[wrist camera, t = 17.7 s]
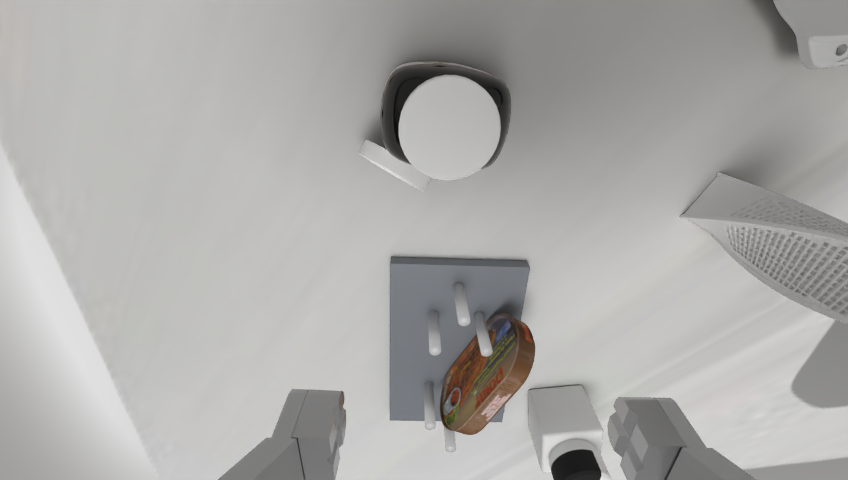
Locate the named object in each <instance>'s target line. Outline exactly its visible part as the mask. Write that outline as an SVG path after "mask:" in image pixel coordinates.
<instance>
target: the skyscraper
mask: <svg viewBox="0 0 848 480" xmlns="http://www.w3.org/2000/svg"><path fill="white" fill-rule="evenodd" d="M680 218H683V219H687V220H689V221H691V222H692V223H694V224H696V225H698V226H699V227H701V228H703V229H705V230H706V231H708V232H709V233H711V234H712V235H714V236H713V238H714V239H715V240H716V241H717V242H718V243H719V244H720V245H721V246H722V247H723V248H724V249H725V250H726V251H727V252H728V254H729V255H730V256H731V257H732V258H734V259H735V260H736V261H737V262H738V263H739V264H740V265H741V266H742V267H743V268H745V269H746V270H747V271H748V272H749V273H751V274H752V275H753V276H755V277H756V278H757V279H759V280H760V281H761V282H763V283H764V284H766V285H767V286H769V287H771V288H772V289H774V290H775V291H777V292H779V293H780V294H782V295H784V296H786V297H787V298H789V299H791V300H793V301H795V302H797V303H799V304H801V305H803V306H805V307H807V308H809V309H812V310H814V311H816V312H819V313H821V314H823V315H826V316H828V317H830V318H833V319H836V320H838V321H841V322H844V323H846V324H848V223H845V222H843V221H841V220H839V219H837V218H835V217H832V216H830V215H828V214H826V213H823V212H821V211H819V210H817V209H814V208H812V207H809V206H807V205H805V204H802V203H800V202H797V201H795V200H792V199H790V198H787V197H785V196H782V195H780V194H777V193H774V192H772V191H769V190H766V189H764V188H761V187H759V186H756V185H753V184H750V183H748V182H745V181H742V180H739V179H736V178H734V177H731V176H728V175H725V174H723V173H720V172H718V174H717V177H716V178H715V179H714V180H713V182H712V183H711V184H710V185H709V186H708V187H707V188H706V189H705V191H704V192H703V193H702V194H701V195H700V196H699V197H698V199H697V200H696V201H695V202H694V203H693V204H692V205H691V206H690V208H689V209H688V210H687V211H686V212H685V213H684V214H682V215H681V216H680Z"/></svg>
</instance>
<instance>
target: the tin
mask: <svg viewBox="0 0 848 480" xmlns="http://www.w3.org/2000/svg"><path fill="white" fill-rule="evenodd" d="M486 326H487V330H488V334H489V338H490V342H491V346H492V351H493V353H492V354H491V355H490V356H488V357H485V356H482V355H481V351H480V346H479V342H478V337H477V335H476V336H475V337H474V339H473V340H472V341H471V342H470V344H469V345H468V346H467V347H466V349H465V350H464V351H463V352H462V354H461V355H460V356H459V358H458V359H457V360H456V361H455V363H454V364H453V365H452V367H451V368H450V370H449V372H448V374H447V376H446V378H445V381H444V384H443V387H442V392H441V397H440V416H441V420H442V423H443V425H444V426H445V427H446V428H447V429H448V430H450V431H457V432H460V433H463V434H467V435H473V434H476V433H478V432H479V431H481V430H482V429H483V428H484V427H485V426H486V425H487V424H488V423H489V422H490V421H491V419H492V418H493V417H494V416H495V415H496V414H497V413H498V412H499V411H500V409H501V408H502V407H503V406H504V405H505V404H506V403H507V402H508V401H509V399H510V398H511V397H512V396H513V395H514V394H515V393H516V392H517V391H518V389H519V388H520V387H521V386H522V385H523V384H524V382H525V381H526V379H527V377H528V375H529V373H530V371H531V369H532V365H533V362H534V356H535V343H534V340H533V336H532V333H531V331H530V329H529V328H528V326H527V325H526V324H525V323H523V322H521V321H519V320H517V319H515V318H512V317H511V316H510V315H508V314H505V313H501V314H497V315H495V316H493V317H492V318H490V319H489V320H488V321H487V322H486Z"/></svg>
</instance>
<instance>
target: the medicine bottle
mask: <svg viewBox="0 0 848 480" xmlns="http://www.w3.org/2000/svg"><path fill="white" fill-rule="evenodd" d="M528 426H529V429H530V433H531V436H532V440H533V443H534V447H535V450H536V454H537V457H538V461H539V464H540V468H541V471H542V472H543V473H551V472H552V475H553V478H554V480H612V479H611V477H610V475H609V473H608V470H607V468H606V466H605V464H604V461H603V459H602V457H601V455H600V454H601V446H602V438H603V428H602V426H601V424H600V422H599V420H598V418H597V416H596V414H595V412H594V410H593V407H592V405H591V403H590V401H589V399H588V397H587V395H586V393H585V391H584V389H583V387H582V386H581V385H575V386H565V387H554V388H543V389H533V390H529V413H528Z"/></svg>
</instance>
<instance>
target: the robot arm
mask: <svg viewBox="0 0 848 480" xmlns="http://www.w3.org/2000/svg"><path fill="white" fill-rule="evenodd" d="M773 1H774V4H775V6H776V8H777V10H778V12H779V13H780V15H781V16H782V17H783V19H784V20H785V21H786V22H787V23H788V25H789V26H790V27H791V28H792V30H793V31H794V33H795V35H796V38H797V45H798V52H799V56H800V60H801V62H802V64H803V66H804V67H806V68H809V69H817V68H828V67H834V66H840V65H846V64H848V0H773ZM838 46H839V48H838V51H837V52H836V53H835V51H836V49H837V47H838ZM343 404H344V393H343V391H328V390H304V389H292V390H291V392H290V393H289V394H288V397H287V399H286V402H285V405H284V407H283V410H282V412H281V415H280V417H279V420H278V422H277V425H276V427H275V430H274V432H273V435H272V437H271V438H265V439H264V440H263V441H262V442H261V443H260V444H259V445H257V446H256V447H255V448H254V449H253V450H252V451H250V452H249V453H248V454H247V455H246V456H245V457H244V458H242V459H241V460H240V461H239V462H238V463H237V464H235V465H234V466H233V467H232V468H231V469H230V470H229V471H227V472H226V473H225V474H224V475H223V476H222V477H220V478H219V479H218V480H335V478H336V474H337V469H338V465H339V460H340V455H339V447H340V446H341V445H342V444H343V441H344V436H345V428H346V410H345V409H344V408H343ZM614 408H615V410H616V412H615V413H614V414H612V415H611V416H610V418H609V422H608V435H609V439H610V443H611V445H612V447H613V450H614V451H615V452H616V453H618V454H619V455H620V456H621V457H622V461H621V464H620V465H621V468H622V470H623V472H624V474H625V476H626V479H627V480H756V479H755V478H753V477H752V476H751V475H749V474H748V473H746V472H745V471H744V470H742V469H741V468H739V467H738V466H737V465H735V464H734V463H732V462H731V461H729V460H728V459H727V458H725V457H724V456H722V455H721V454H720V453H718V452H717V451H715V450H714V449H713V448H707V447H706V446H705V445H704V443H703V442H702V440H701V439H700V437H699V436H698V434H697V433H696V431H695V430H694V428H693V427H692V425H691V424H690V423H689V421H688V420H687V418H686V417H685V415H684V414H683V412H682V411H681V409H680V408H679V406H678V405H677V403H676V402H675V401H674V400H673V399H671V398H651V397H618V398H617V399H616V400H615V403H614Z"/></svg>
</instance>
